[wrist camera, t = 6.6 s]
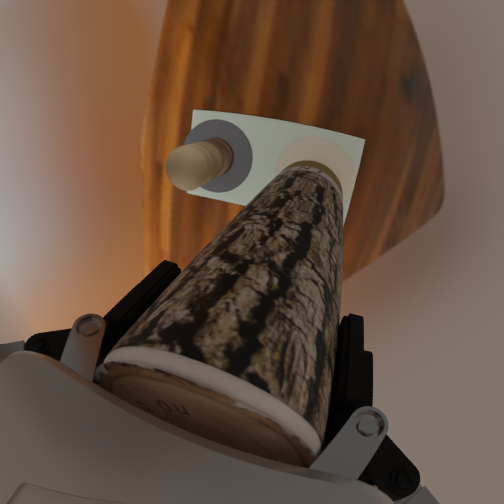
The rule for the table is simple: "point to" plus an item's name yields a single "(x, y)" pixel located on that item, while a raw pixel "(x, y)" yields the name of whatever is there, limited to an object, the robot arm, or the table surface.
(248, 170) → the board
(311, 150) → the cream pad
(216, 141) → the beige rounded cylinder
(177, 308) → the brown bark cylinder
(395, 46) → the table surface
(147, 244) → the table surface
